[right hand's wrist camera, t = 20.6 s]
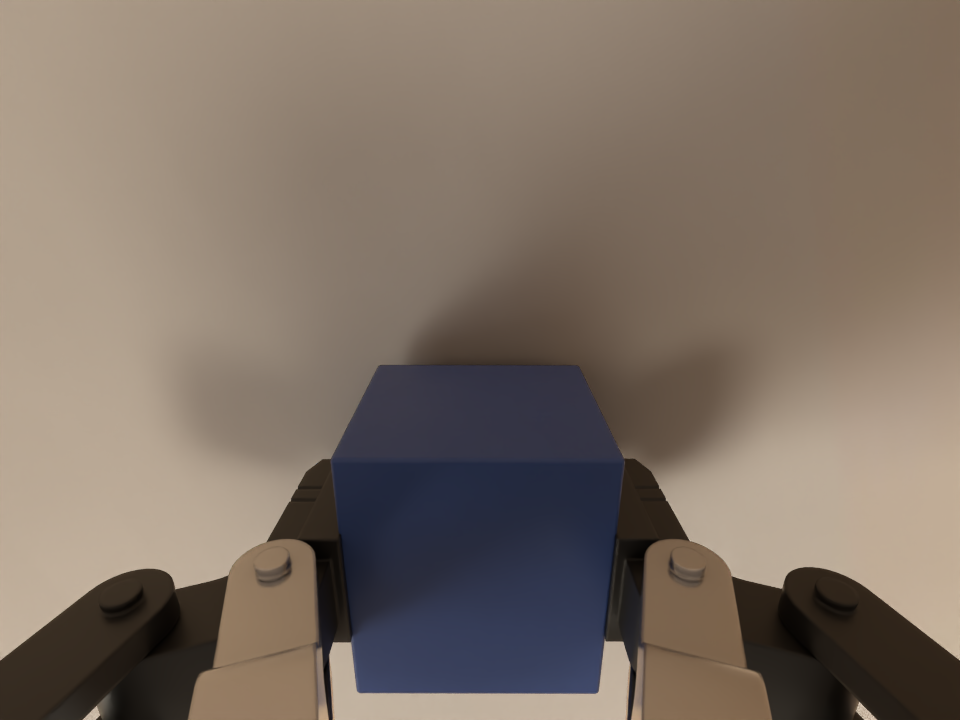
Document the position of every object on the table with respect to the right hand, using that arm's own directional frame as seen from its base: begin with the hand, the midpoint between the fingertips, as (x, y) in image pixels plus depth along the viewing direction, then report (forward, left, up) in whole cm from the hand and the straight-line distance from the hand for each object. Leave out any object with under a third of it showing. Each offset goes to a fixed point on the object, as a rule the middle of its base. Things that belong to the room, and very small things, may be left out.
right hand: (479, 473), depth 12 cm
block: (0, 0, -1) cm, 1 cm away
